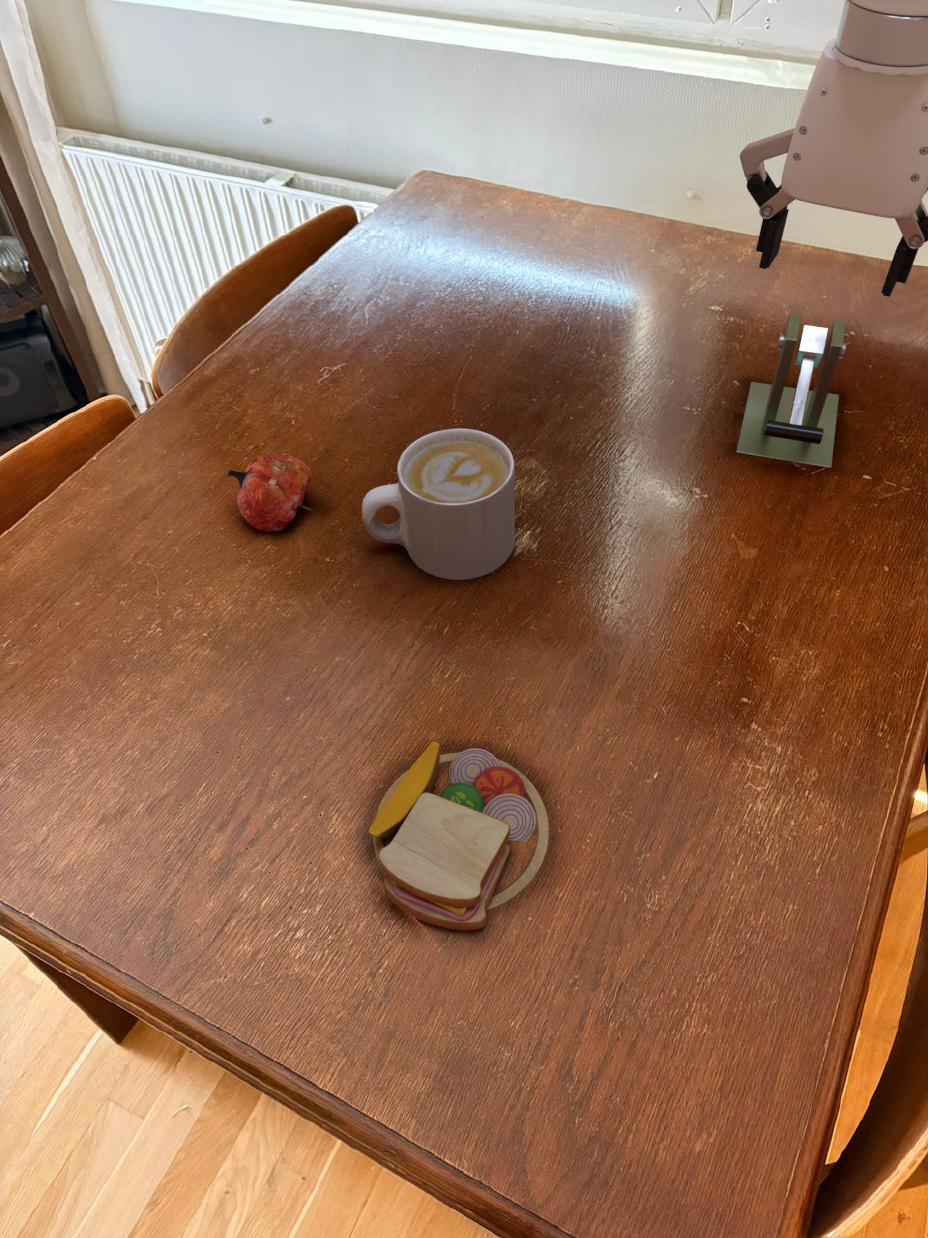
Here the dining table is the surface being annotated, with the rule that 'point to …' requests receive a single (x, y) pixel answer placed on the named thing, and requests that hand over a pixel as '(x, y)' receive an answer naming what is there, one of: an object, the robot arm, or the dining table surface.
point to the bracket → (779, 401)
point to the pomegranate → (272, 490)
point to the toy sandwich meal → (456, 836)
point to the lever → (802, 389)
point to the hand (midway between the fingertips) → (827, 274)
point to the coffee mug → (450, 504)
